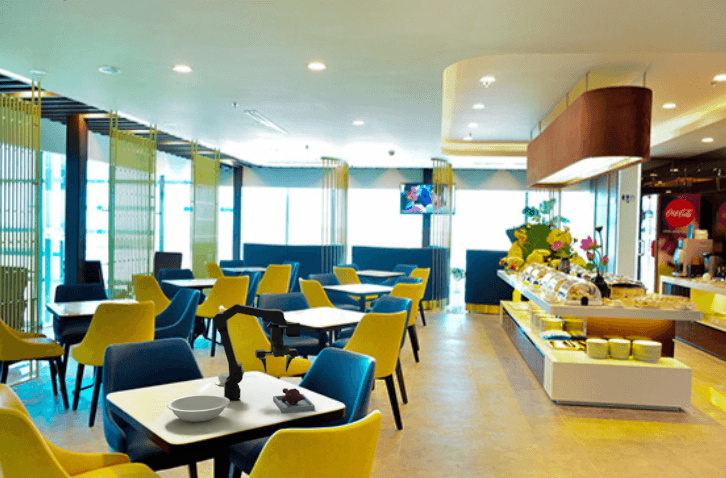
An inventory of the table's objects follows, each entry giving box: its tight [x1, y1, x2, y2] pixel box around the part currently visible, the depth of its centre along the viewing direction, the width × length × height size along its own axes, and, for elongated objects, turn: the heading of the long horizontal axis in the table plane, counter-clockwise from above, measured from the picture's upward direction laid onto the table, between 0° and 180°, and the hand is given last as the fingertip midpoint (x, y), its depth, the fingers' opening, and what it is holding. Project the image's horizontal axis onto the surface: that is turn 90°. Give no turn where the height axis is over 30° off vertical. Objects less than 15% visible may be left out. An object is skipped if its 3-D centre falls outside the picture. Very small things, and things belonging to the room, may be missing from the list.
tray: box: [272, 393, 316, 414], centre depth 247 cm, size 14×20×2 cm
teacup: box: [215, 372, 229, 386], centre depth 283 cm, size 10×10×5 cm
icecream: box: [281, 387, 305, 405], centre depth 247 cm, size 7×7×15 cm
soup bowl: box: [166, 394, 231, 423], centre depth 226 cm, size 24×24×7 cm
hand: (275, 372), depth 257 cm, fingers open, 9 cm apart
